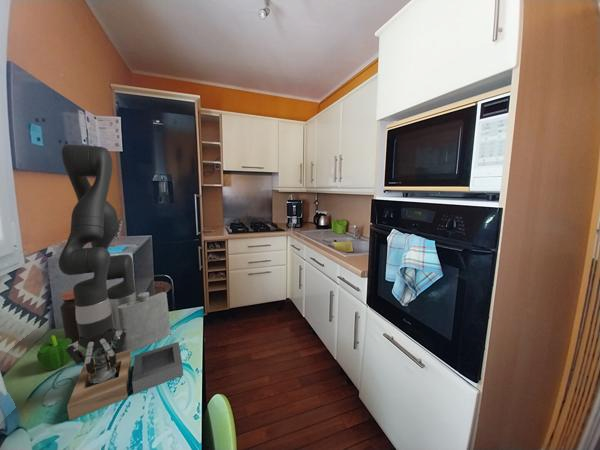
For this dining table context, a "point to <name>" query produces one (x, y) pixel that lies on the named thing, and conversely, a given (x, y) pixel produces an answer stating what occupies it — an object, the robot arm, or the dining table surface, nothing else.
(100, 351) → the chess piece
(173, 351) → the seat block
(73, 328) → the bottle
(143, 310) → the hip flask
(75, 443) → the dining table surface
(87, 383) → the wooden rectangular frame
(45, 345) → the bell pepper
